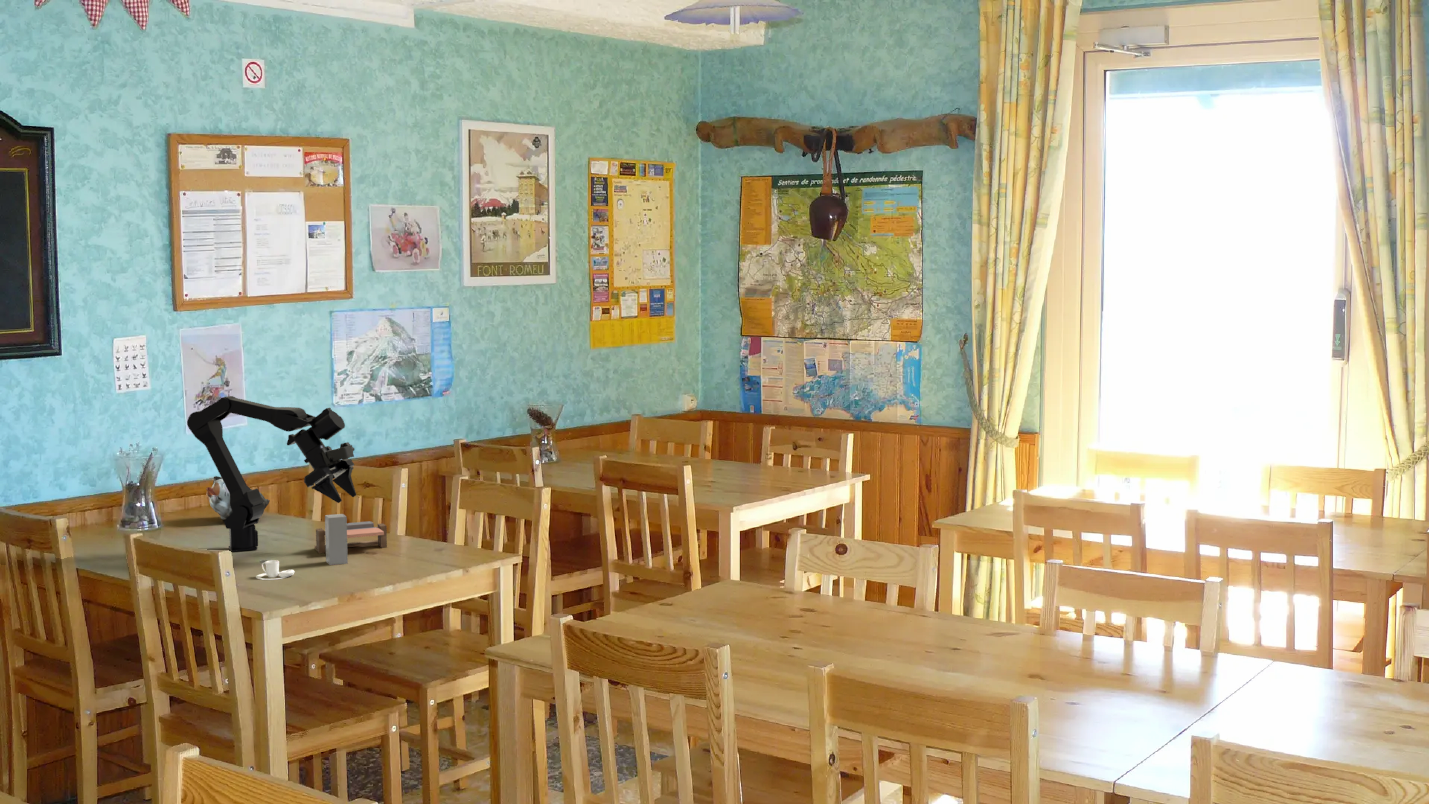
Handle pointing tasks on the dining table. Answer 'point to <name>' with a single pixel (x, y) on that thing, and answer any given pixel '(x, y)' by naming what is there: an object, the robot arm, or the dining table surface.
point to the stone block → (336, 539)
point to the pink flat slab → (362, 529)
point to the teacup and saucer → (274, 570)
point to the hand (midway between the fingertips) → (347, 499)
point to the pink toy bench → (381, 542)
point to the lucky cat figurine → (222, 498)
